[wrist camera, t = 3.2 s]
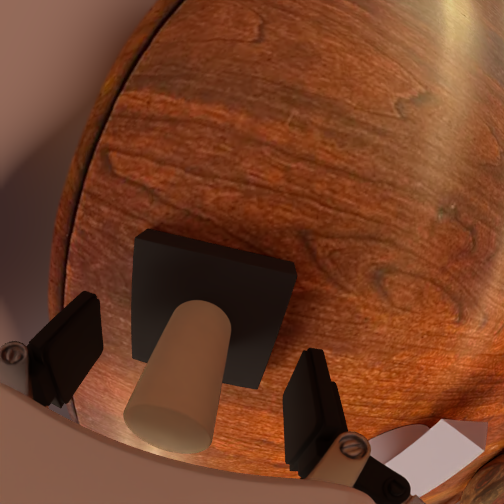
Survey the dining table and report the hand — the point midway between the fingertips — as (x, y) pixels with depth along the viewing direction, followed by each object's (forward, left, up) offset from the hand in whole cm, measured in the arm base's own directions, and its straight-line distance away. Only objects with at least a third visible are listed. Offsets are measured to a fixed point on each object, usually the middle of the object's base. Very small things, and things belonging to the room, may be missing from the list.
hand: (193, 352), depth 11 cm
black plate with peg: (0, 0, -3) cm, 3 cm away
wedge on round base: (+19, -11, -4) cm, 22 cm away
